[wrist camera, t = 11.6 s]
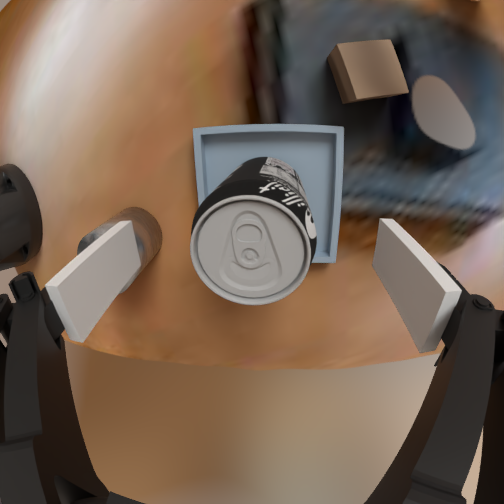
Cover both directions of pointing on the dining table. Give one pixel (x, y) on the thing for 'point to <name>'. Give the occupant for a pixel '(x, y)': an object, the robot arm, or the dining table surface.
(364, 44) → the walnut block
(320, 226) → the tray
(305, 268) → the beverage can
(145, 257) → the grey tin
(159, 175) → the dining table surface
